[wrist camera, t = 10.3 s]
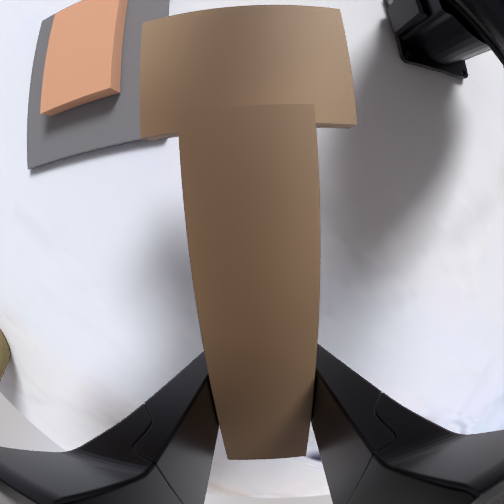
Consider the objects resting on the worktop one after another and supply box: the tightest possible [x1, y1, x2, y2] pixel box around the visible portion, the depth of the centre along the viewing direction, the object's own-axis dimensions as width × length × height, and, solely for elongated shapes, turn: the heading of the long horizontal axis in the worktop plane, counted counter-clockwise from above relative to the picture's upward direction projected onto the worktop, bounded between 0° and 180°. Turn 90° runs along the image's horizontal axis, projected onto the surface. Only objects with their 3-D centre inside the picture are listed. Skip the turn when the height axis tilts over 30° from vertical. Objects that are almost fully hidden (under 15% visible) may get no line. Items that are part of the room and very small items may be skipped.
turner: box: [140, 5, 358, 460], centre depth 7 cm, size 6×14×3 cm, turn 4°
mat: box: [27, 0, 169, 169], centre depth 14 cm, size 12×14×1 cm
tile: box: [40, 0, 128, 116], centre depth 13 cm, size 6×2×9 cm
